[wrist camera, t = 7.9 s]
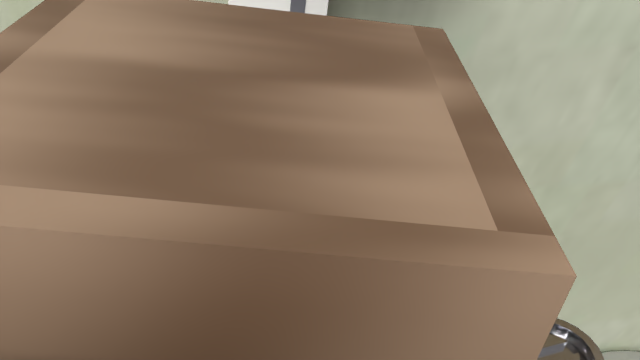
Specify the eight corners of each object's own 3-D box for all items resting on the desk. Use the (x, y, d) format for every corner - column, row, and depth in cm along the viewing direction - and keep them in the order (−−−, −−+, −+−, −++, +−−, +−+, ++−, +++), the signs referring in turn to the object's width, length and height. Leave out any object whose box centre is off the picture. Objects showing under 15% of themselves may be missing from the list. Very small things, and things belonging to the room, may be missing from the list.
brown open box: (443, 29, 11) (577, 277, 5) (379, 296, 15) (418, 607, 9) (64, -15, 11) (-234, 205, 5) (99, 273, 15) (-45, 585, 9)
